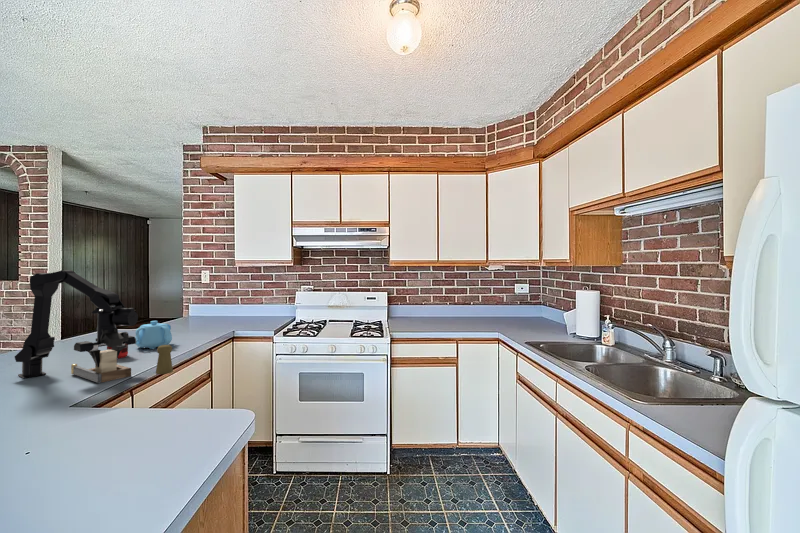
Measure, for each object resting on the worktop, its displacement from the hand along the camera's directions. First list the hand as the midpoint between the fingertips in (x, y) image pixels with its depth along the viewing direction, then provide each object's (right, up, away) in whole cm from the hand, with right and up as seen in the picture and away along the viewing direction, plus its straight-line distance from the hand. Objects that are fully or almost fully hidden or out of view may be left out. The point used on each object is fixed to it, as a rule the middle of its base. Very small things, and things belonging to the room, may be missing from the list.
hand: (105, 365), depth 151 cm
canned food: (-18, -4, +31) cm, 36 cm away
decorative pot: (-16, -4, +54) cm, 56 cm away
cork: (+17, -5, +8) cm, 20 cm away
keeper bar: (-6, -4, -2) cm, 7 cm away
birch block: (0, -3, 0) cm, 2 cm away
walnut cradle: (0, -5, 0) cm, 5 cm away
